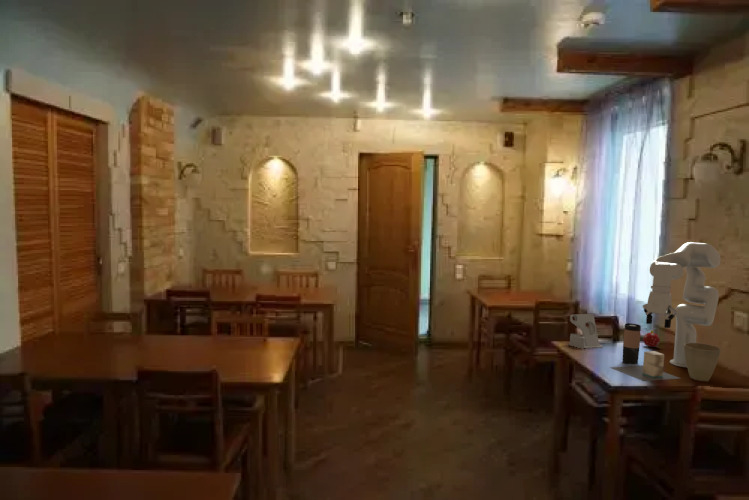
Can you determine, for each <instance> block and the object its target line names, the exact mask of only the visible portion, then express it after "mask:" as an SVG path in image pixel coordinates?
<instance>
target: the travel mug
mask: <svg viewBox="0 0 749 500" xmlns="http://www.w3.org/2000/svg"><path fill="white" fill-rule="evenodd" d="M641 329H642V325H641V324H637V323H630V322H629V323H627V322H626V323H625V324H624V330H623V341H622V342H623V344H622V345H623V346H622V363H623V364H625V365H631V364H632V365H635V364H636V365H637V364H638V363H639V355H640V354H639V353H640V343H641V332H642V331H641Z"/></svg>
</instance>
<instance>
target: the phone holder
mask: <svg viewBox="0 0 749 500" xmlns="http://www.w3.org/2000/svg"><path fill="white" fill-rule="evenodd" d="M573 318H574V319H573ZM569 322H571V324H573V325H575V326H576V327H577V328H578V329H579V330H581V334H582V335H581V334H577V333H570V336H569V344H568V345H569V346H571V347H573V346H574V348H576V347H577V348H576V349H579V348H585V349H599V348H601V349H602V348H603V345H601V344H600V342H599V336H598V331H597V326H596V321H595V316H594V314H593V313H581V314H579V313H578V314H570V316H569ZM586 324H588V327H587V326H586Z"/></svg>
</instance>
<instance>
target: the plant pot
mask: <svg viewBox="0 0 749 500" xmlns="http://www.w3.org/2000/svg"><path fill="white" fill-rule="evenodd" d="M684 350H685V359H686V364H687V367H686V368H687V371H688V375H689V378H690V379H693V380H695V381H699V382H700V381H701V382H709V381H710V379H711V377H712V375H713V373H714V372H715V369H716V367H717V365H718V360H719V358H720V353H721V351H722V350H721V348H720V347H719V346H716V345H711V344H707V343H700V342H696V343H685V344H684Z"/></svg>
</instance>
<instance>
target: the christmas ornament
mask: <svg viewBox="0 0 749 500" xmlns="http://www.w3.org/2000/svg"><path fill="white" fill-rule="evenodd" d="M642 339H643V341H642V342H643V343H644V345H646V347H649V348H656V347H658V345H659V344H660V342H661V341H660V336H659V335H658V334H657V333H655V332H654V330H653V329H652V330H651V331H650V332H647V333H645V334H644V335H643V338H642Z"/></svg>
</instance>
